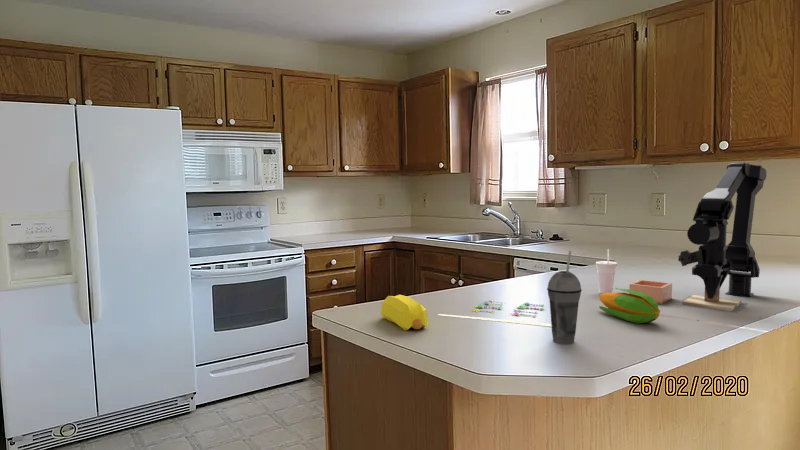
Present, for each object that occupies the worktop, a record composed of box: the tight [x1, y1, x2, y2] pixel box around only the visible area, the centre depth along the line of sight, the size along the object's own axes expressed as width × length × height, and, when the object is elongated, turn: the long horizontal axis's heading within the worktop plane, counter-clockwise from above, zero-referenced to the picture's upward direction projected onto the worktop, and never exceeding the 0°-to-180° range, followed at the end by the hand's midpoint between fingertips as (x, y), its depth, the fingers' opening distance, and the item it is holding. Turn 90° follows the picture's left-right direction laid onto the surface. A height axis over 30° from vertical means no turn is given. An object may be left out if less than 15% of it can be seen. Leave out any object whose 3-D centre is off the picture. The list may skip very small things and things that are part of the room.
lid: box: [681, 284, 742, 311], centre depth 150 cm, size 12×12×6 cm
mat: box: [674, 295, 749, 314], centre depth 150 cm, size 15×15×1 cm
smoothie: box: [595, 248, 618, 295], centre depth 168 cm, size 6×6×14 cm
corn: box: [598, 287, 661, 324], centre depth 138 cm, size 7×8×20 cm
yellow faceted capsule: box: [380, 294, 429, 331], centre depth 135 cm, size 18×7×8 cm
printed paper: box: [437, 300, 552, 328], centre depth 150 cm, size 30×30×2 cm
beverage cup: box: [546, 250, 583, 345], centre depth 118 cm, size 7×7×20 cm
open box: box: [628, 279, 673, 305], centre depth 157 cm, size 9×9×5 cm
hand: (711, 297), depth 150 cm, fingers closed on lid, 3 cm apart
